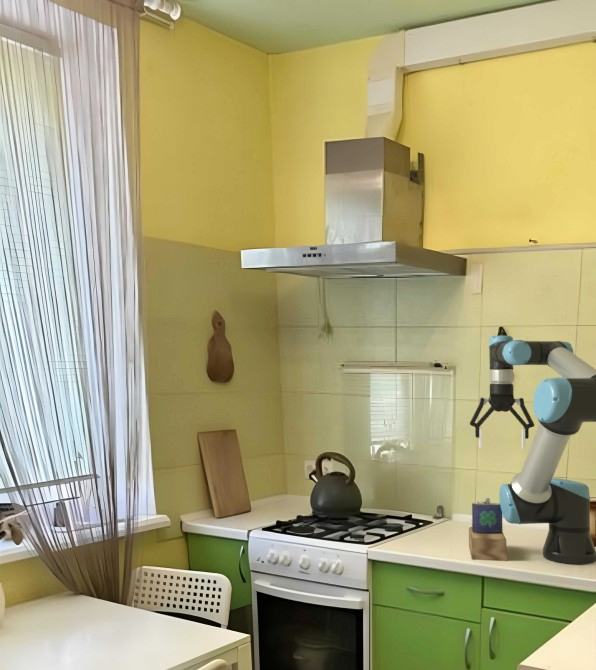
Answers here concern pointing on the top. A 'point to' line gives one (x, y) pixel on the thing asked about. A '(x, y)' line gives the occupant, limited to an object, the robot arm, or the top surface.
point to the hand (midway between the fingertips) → (501, 448)
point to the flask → (486, 517)
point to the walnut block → (487, 546)
